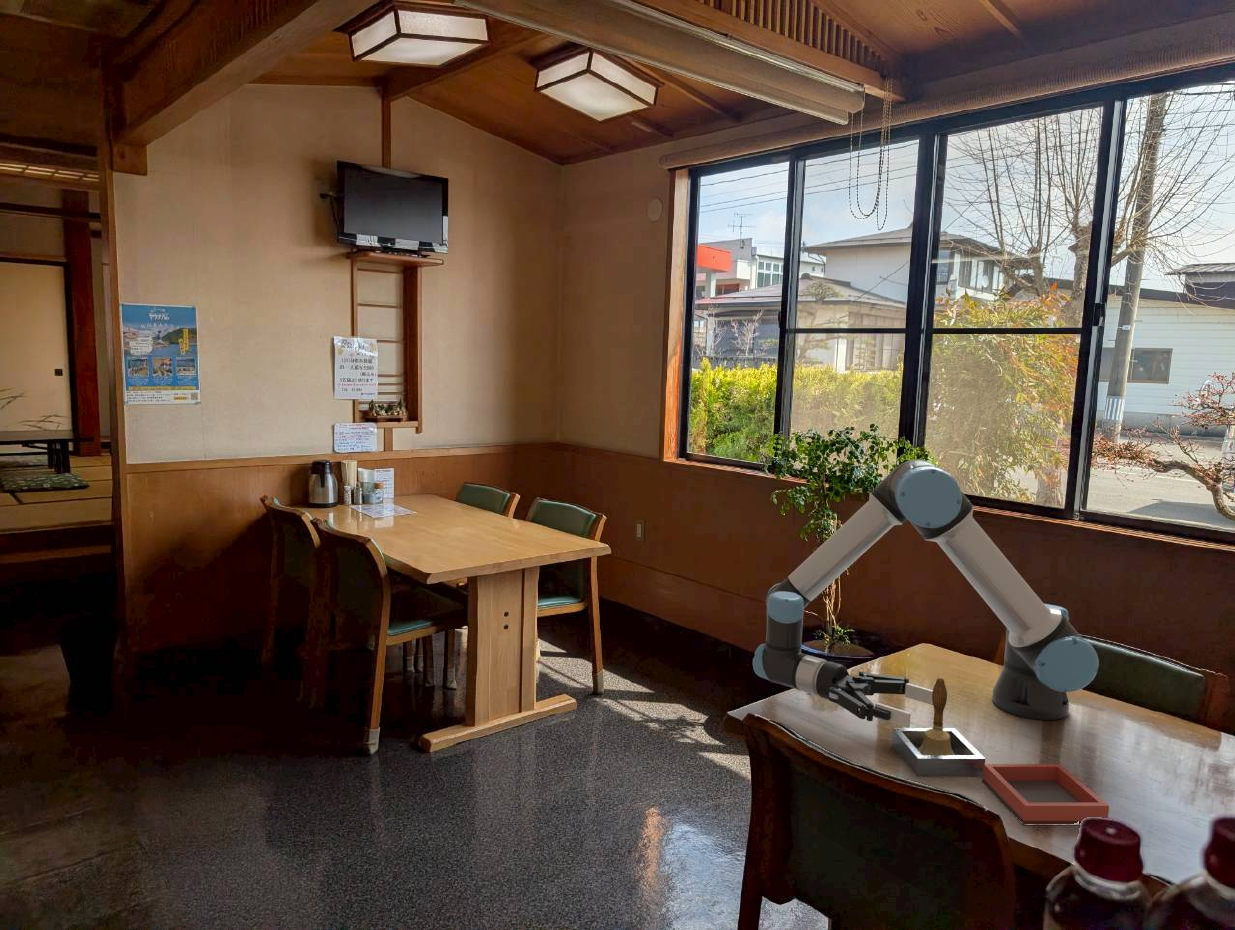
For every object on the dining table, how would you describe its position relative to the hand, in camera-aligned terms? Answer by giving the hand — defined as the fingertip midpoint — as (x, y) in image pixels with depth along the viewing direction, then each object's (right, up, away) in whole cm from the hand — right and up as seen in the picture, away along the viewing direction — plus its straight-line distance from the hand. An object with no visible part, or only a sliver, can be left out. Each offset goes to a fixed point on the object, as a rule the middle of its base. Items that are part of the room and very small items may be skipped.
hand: (924, 709), depth 156 cm
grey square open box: (+2, -9, 0) cm, 10 cm away
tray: (+15, -12, -15) cm, 24 cm away
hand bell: (+2, -10, 0) cm, 10 cm away
